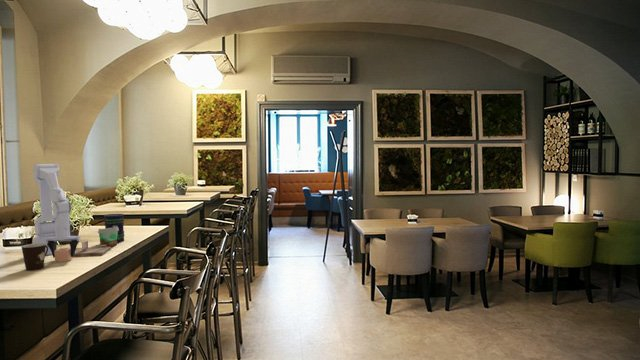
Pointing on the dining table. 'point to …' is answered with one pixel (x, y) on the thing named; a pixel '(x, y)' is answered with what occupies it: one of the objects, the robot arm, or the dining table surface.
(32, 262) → the coffee mug
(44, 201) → the robot arm
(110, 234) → the food container
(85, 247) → the post
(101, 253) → the board
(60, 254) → the collar
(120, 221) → the storage jar
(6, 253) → the dining table surface
